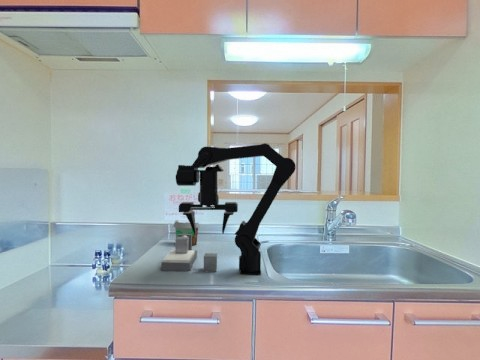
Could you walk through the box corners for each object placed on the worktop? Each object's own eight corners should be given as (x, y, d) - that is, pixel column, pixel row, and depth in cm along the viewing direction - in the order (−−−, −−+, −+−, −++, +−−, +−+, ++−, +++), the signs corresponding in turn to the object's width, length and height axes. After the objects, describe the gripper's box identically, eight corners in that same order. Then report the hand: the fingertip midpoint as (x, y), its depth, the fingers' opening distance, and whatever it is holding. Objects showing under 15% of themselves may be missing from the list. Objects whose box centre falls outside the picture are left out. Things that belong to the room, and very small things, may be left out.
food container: (167, 245, 140) (167, 221, 139) (176, 242, 145) (176, 220, 145) (190, 248, 134) (191, 224, 134) (199, 245, 139) (199, 222, 139)
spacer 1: (188, 250, 117) (188, 237, 116) (186, 253, 113) (187, 239, 112) (177, 250, 117) (177, 236, 116) (175, 253, 113) (175, 239, 112)
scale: (197, 256, 121) (197, 234, 121) (189, 270, 104) (190, 244, 104) (172, 256, 121) (173, 233, 121) (161, 270, 104) (161, 243, 104)
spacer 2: (217, 268, 107) (217, 253, 107) (216, 272, 103) (216, 256, 103) (204, 268, 107) (205, 253, 107) (203, 271, 103) (203, 256, 103)
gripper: (238, 184, 113) (238, 229, 114) (185, 184, 114) (185, 229, 114) (236, 186, 102) (237, 235, 103) (178, 186, 103) (178, 235, 103)
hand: (208, 233), depth 106 cm, fingers open, 9 cm apart
